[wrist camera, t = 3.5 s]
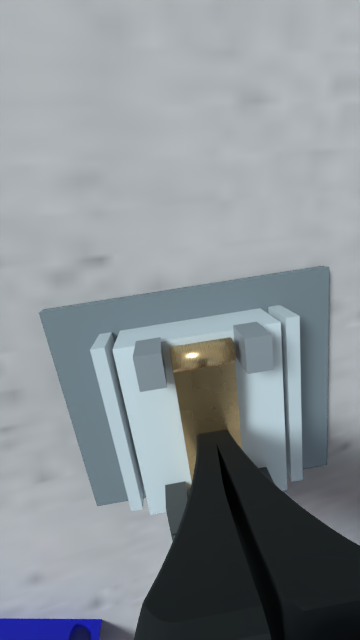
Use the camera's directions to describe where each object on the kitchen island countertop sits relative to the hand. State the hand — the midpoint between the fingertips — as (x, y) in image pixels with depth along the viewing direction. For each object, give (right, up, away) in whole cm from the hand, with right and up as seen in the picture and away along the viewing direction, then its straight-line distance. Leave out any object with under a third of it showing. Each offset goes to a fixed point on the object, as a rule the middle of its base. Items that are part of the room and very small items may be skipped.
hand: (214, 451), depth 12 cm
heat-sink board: (0, +2, +4) cm, 4 cm away
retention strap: (0, +1, +1) cm, 1 cm away
